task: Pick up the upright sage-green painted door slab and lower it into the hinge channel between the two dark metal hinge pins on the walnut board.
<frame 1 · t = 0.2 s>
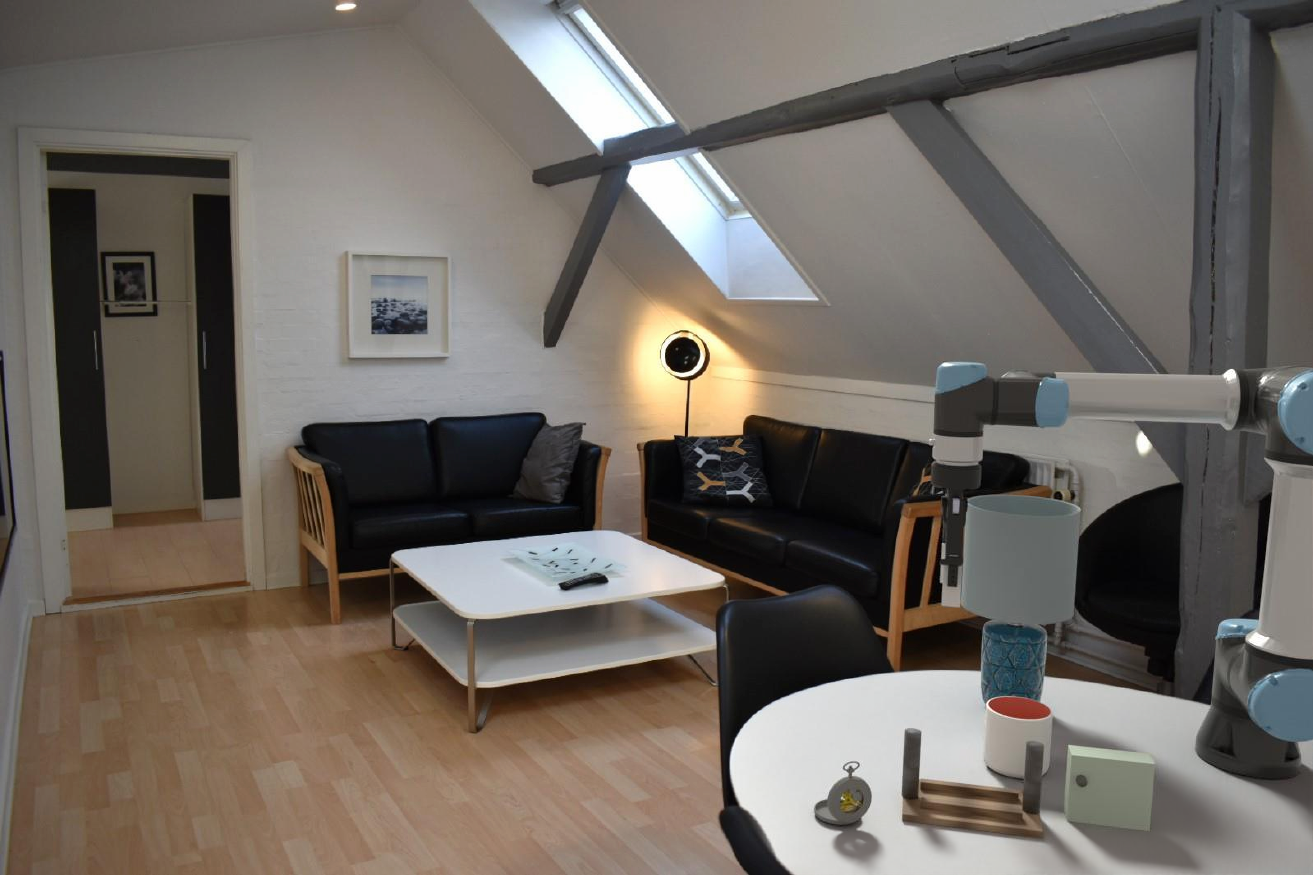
hand: (949, 594, 169), 28 cm above the table, fingers open, 13 cm apart
hinge board: (969, 809, 156), on the table
lamp: (1010, 708, 194), on the table
cup: (1015, 768, 170), on the table
door: (1105, 820, 153), on the table
pocket watch: (839, 821, 152), on the table
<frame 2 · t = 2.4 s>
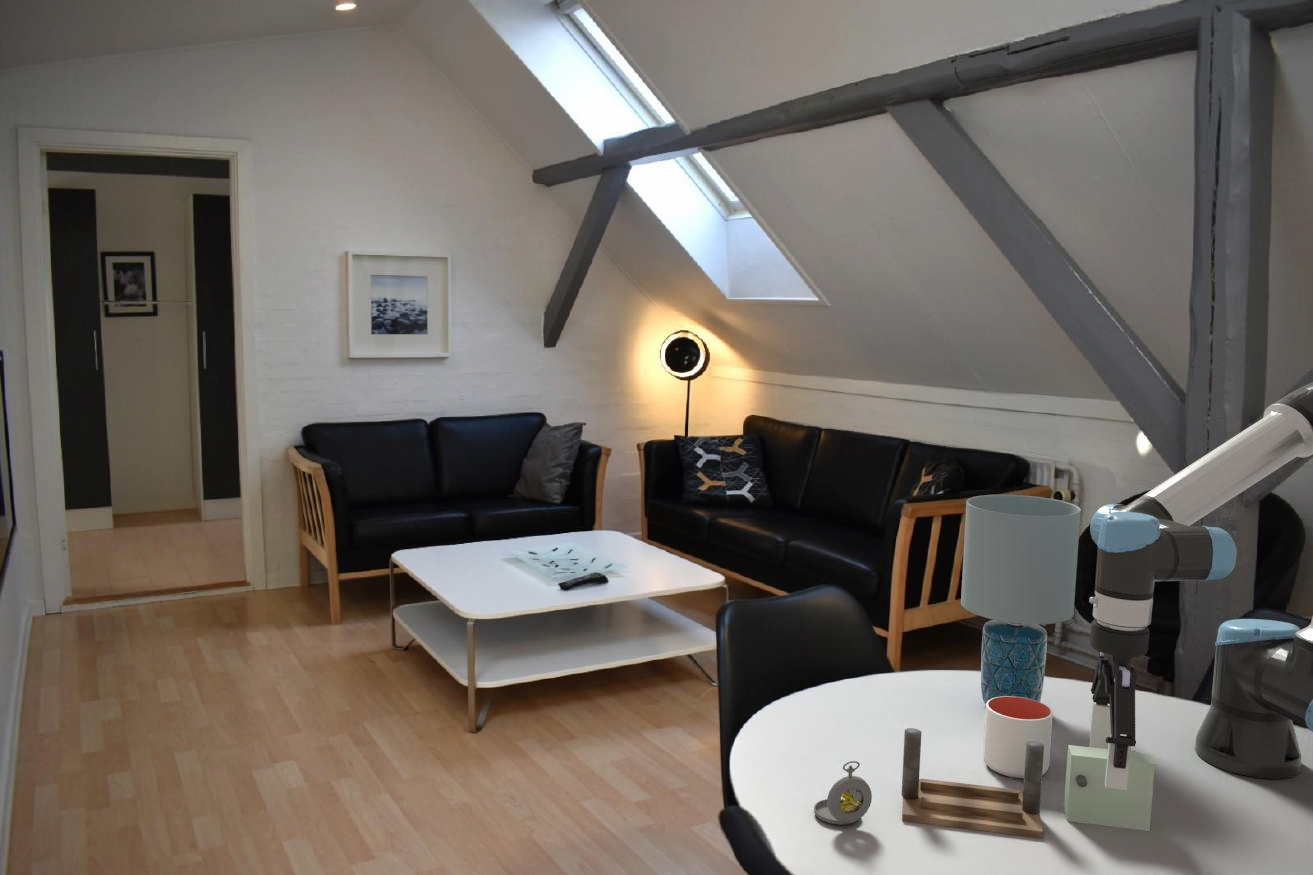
hand: (1107, 766, 152), 8 cm above the table, fingers open, 13 cm apart
nothing on the table moved.
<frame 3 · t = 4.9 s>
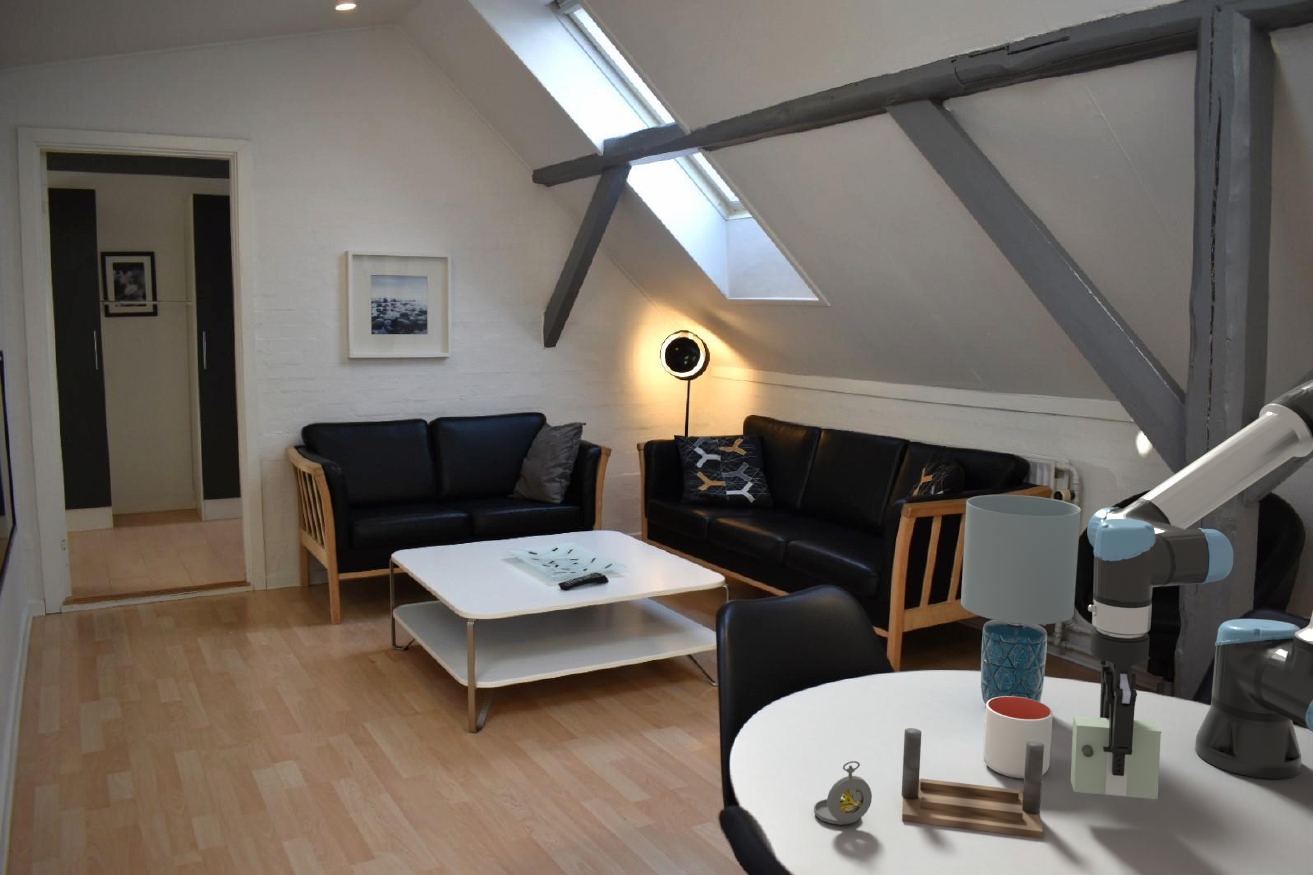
hand: (1112, 786, 153), 5 cm above the table, fingers closed on door, 3 cm apart
door: (1113, 789, 153), point 5 cm above the table, touching gripper
everything else where it was.
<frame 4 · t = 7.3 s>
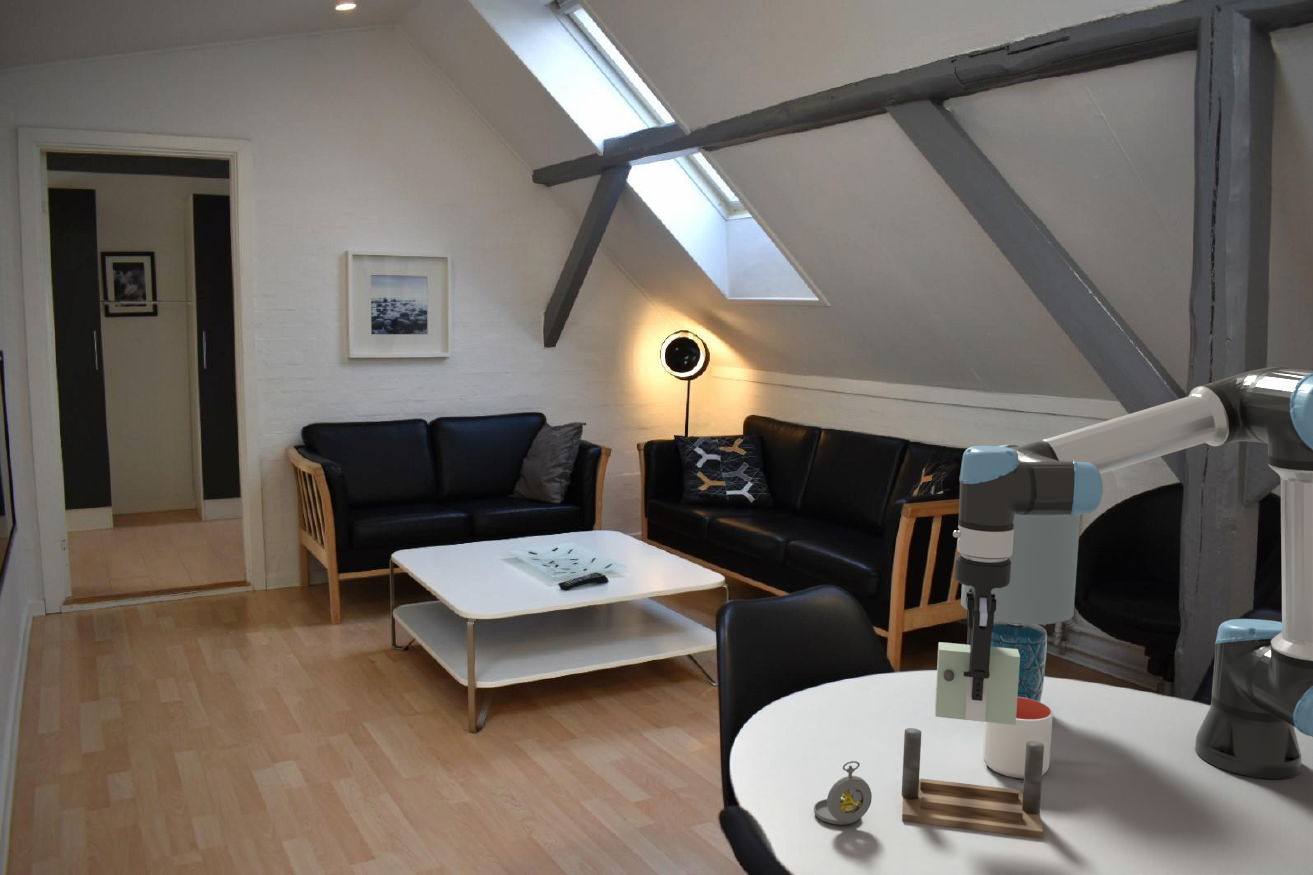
hand: (974, 713, 154), 15 cm above the table, fingers closed on door, 3 cm apart
door: (974, 716, 154), point 14 cm above the table, touching gripper
everything else where it was.
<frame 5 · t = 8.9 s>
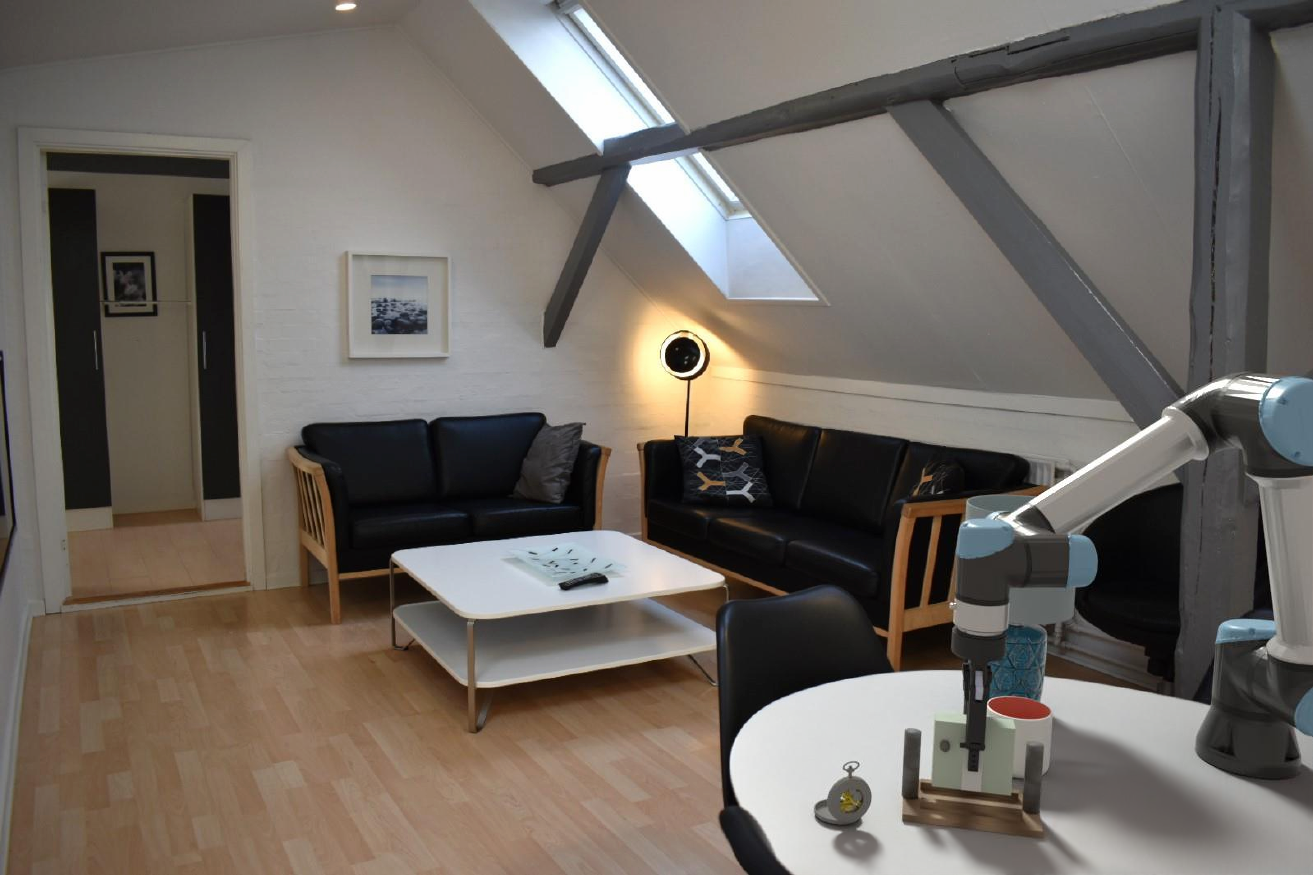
hand: (970, 782, 155), 4 cm above the table, fingers closed on door, 3 cm apart
door: (970, 785, 155), point 4 cm above the table, touching gripper
everything else where it was.
when the fingers open (3 cm above the table, at t = 9.9 s): door drops 1 cm, resting on hinge board.
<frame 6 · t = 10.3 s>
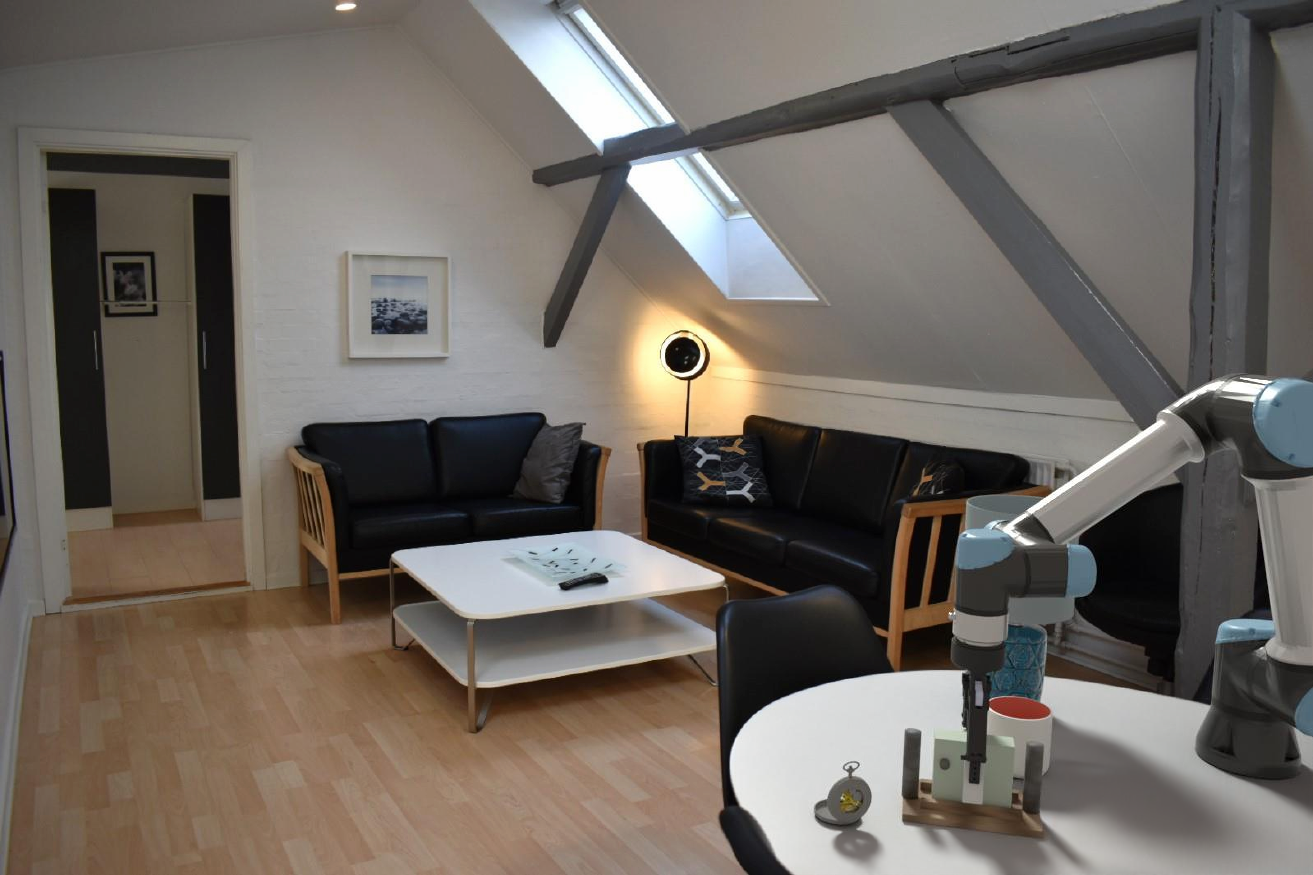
hand: (970, 786, 155), 4 cm above the table, fingers open, 9 cm apart
door: (970, 802, 156), point 1 cm above the table, touching hinge board
everything else where it was.
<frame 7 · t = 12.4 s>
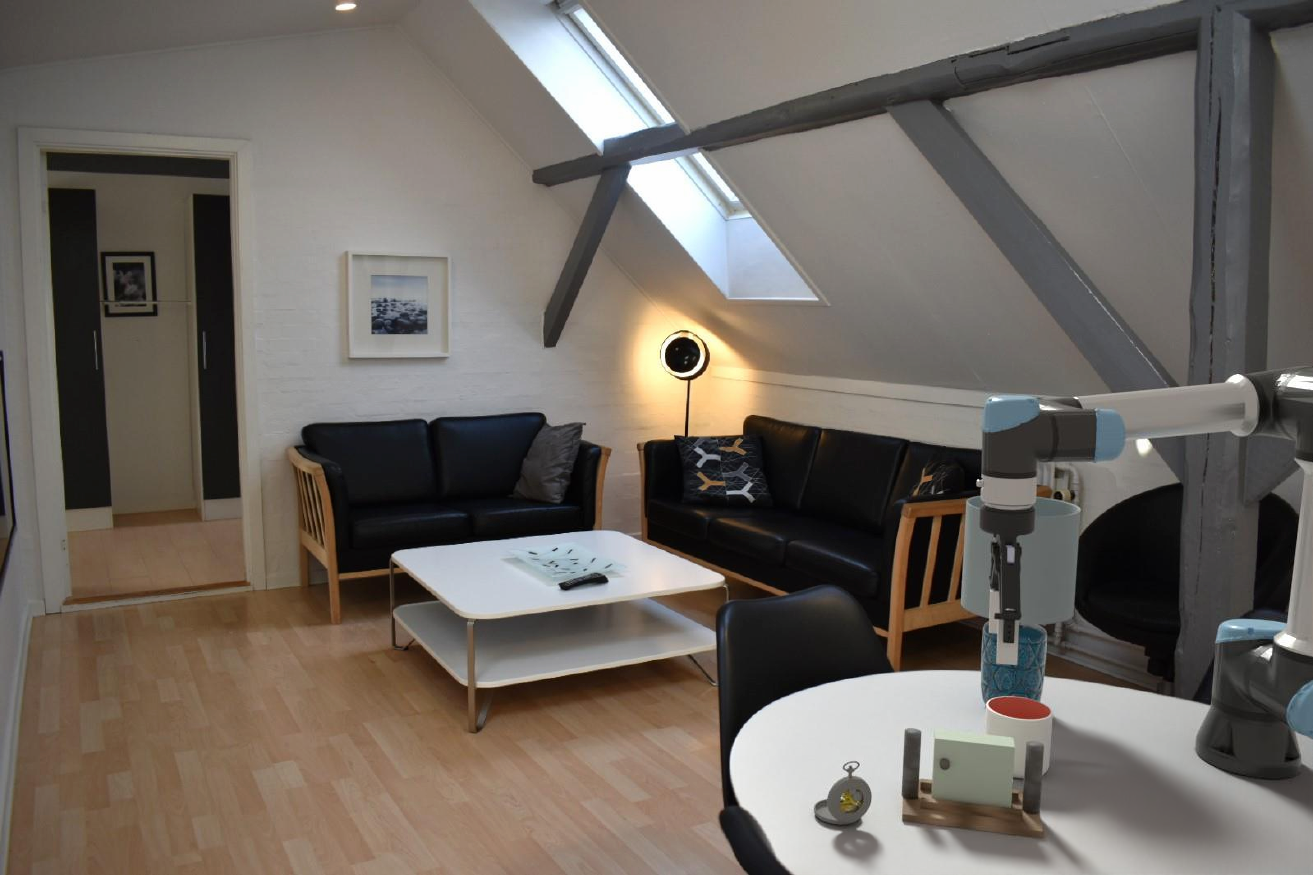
hand: (1002, 647, 155), 24 cm above the table, fingers open, 13 cm apart
nothing on the table moved.
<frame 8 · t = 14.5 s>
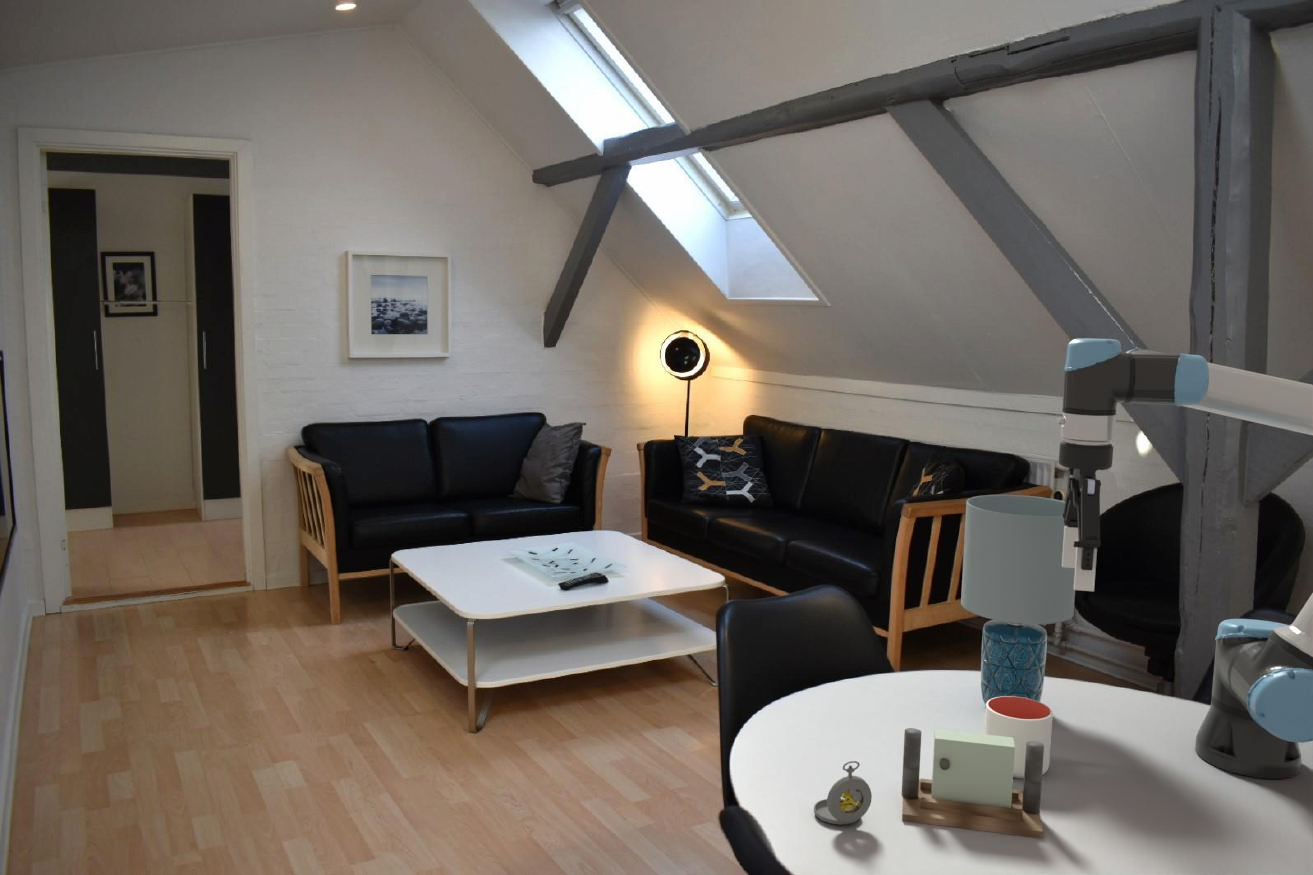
hand: (1077, 578, 163), 32 cm above the table, fingers open, 13 cm apart
nothing on the table moved.
at the end: door 0.1 cm off-centre on the hinge board, point 1.0 cm above the hinge board's base; door tilted 0°; the gripper is holding nothing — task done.
